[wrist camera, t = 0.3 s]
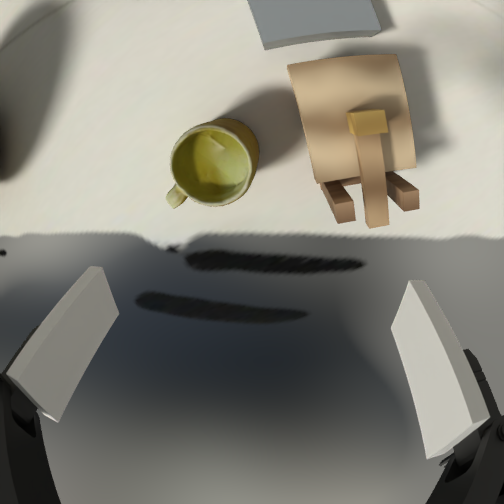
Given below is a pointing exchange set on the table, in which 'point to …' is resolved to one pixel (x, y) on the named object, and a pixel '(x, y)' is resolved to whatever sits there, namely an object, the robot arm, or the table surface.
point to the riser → (312, 20)
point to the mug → (213, 163)
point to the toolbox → (338, 196)
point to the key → (371, 163)
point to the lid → (347, 100)
